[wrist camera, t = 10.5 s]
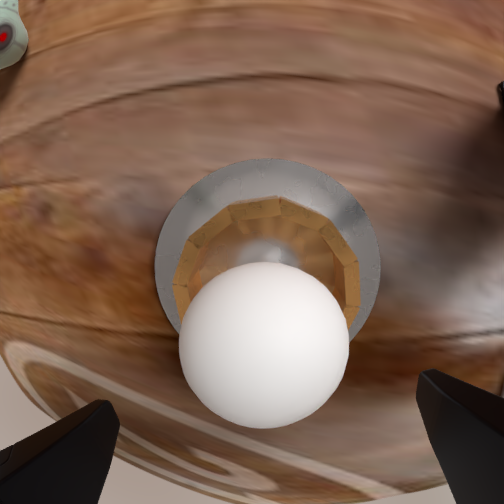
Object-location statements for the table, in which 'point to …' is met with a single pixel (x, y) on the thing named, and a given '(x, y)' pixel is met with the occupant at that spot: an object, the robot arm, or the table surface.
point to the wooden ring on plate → (269, 235)
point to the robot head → (11, 34)
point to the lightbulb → (263, 345)
